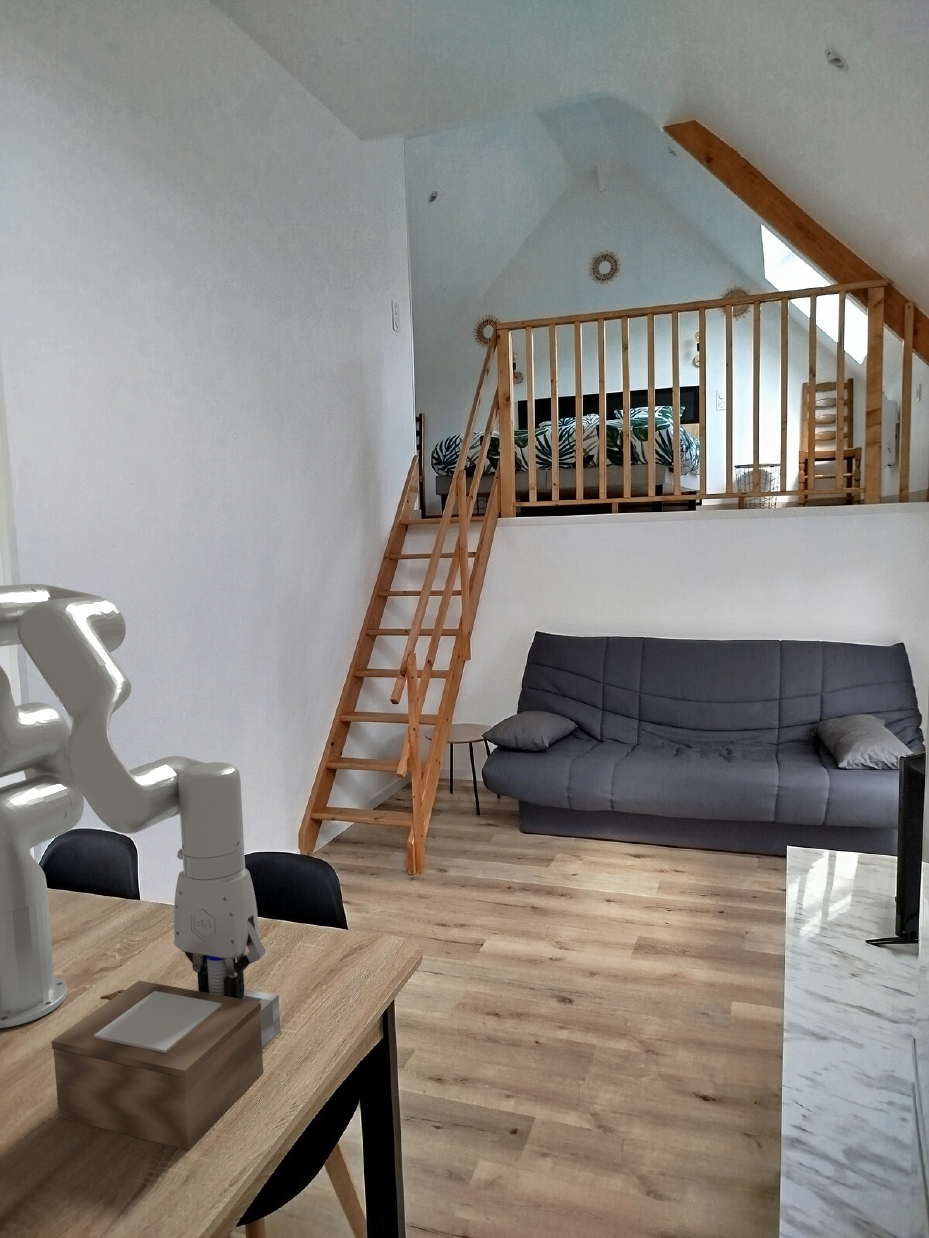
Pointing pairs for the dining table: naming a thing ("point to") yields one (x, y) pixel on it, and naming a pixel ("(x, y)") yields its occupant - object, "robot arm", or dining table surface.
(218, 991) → the bolt
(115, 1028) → the lid mat
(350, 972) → the dining table surface
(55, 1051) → the wooden box
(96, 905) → the dining table surface
